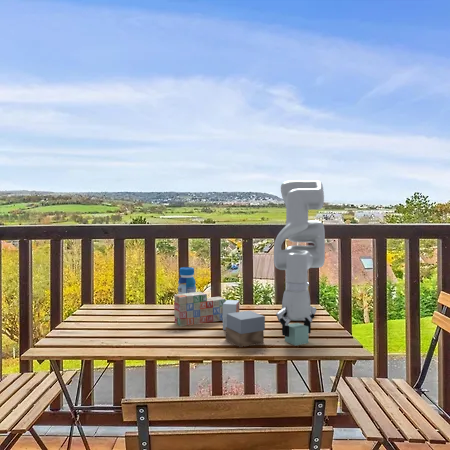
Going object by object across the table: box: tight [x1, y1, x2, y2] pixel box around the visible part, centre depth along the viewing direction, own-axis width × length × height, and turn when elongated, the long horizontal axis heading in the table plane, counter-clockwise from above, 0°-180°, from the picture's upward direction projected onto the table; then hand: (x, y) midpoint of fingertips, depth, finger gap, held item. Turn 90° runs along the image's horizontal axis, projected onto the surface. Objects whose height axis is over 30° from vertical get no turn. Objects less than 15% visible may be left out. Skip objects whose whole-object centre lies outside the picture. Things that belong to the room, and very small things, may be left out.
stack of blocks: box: [173, 291, 227, 327], centre depth 195 cm, size 21×6×12 cm, turn 118°
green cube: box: [284, 322, 309, 346], centre depth 166 cm, size 6×6×6 cm
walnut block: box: [225, 327, 265, 348], centre depth 167 cm, size 10×10×5 cm
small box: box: [222, 299, 240, 331], centre depth 185 cm, size 8×6×10 cm
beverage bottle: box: [177, 266, 197, 294], centre depth 214 cm, size 8×8×20 cm
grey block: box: [227, 310, 266, 334], centre depth 166 cm, size 10×10×5 cm
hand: (296, 334), depth 165 cm, fingers open, 9 cm apart
